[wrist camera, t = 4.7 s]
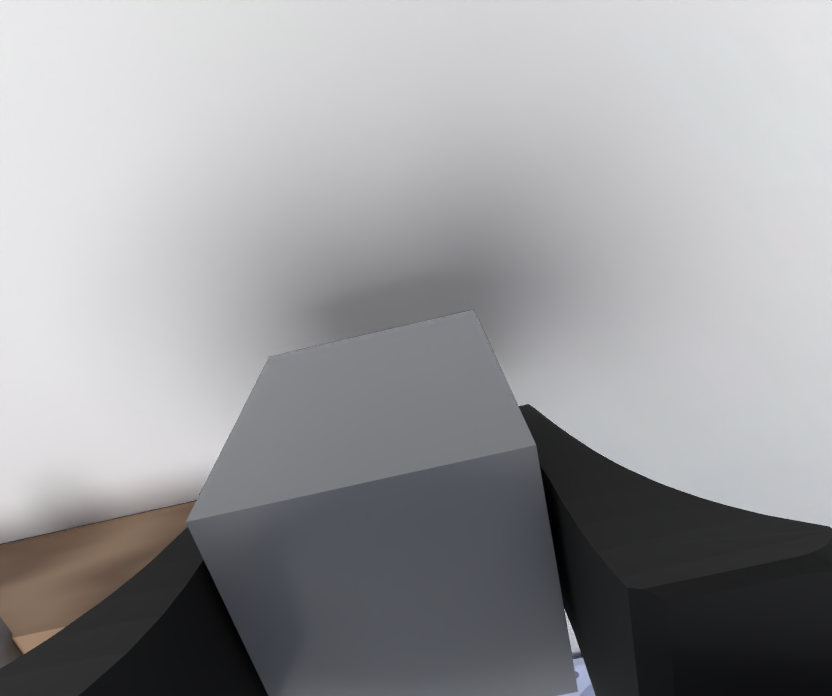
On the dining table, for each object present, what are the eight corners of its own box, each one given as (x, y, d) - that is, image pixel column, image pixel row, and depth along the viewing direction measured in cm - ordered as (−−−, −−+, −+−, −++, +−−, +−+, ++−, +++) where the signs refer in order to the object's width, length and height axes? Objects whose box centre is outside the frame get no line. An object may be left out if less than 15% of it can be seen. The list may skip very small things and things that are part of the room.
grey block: (474, 309, 13) (536, 444, 8) (508, 482, 15) (578, 691, 10) (269, 356, 13) (185, 521, 8) (328, 521, 15) (294, 748, 10)
